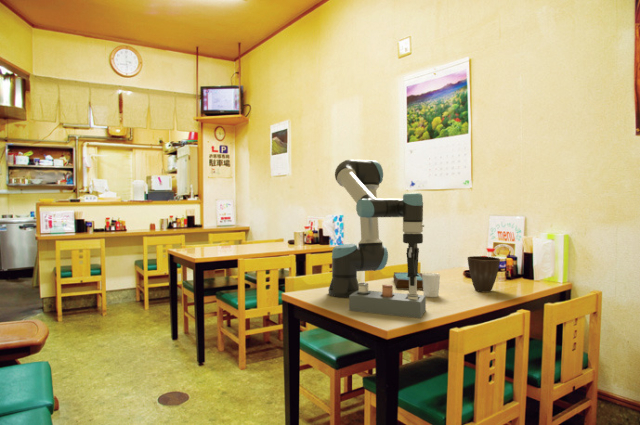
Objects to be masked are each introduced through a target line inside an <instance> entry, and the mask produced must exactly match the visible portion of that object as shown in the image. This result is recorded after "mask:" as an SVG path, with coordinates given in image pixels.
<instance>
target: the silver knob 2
mask: <svg viewBox="0 0 640 425" xmlns="http://www.w3.org/2000/svg"><path fill="white" fill-rule="evenodd" d="M406 294H407V299H415V300H418V295H419V293H417V294H409V292H408V293H406Z"/></svg>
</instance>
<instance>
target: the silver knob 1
mask: <svg viewBox="0 0 640 425" xmlns="http://www.w3.org/2000/svg"><path fill="white" fill-rule="evenodd" d="M358 283H359V294H360V295H368V291H369V283H368V282H358Z"/></svg>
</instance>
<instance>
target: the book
mask: <svg viewBox="0 0 640 425" xmlns="http://www.w3.org/2000/svg"><path fill="white" fill-rule="evenodd" d="M423 273H424V272H418V274H417V275H419V277H418V276H416V277H417V290H423V279H422V274H423ZM407 275H408V272H397V271H396V272H393V281H394V283H395V286H396V288H397V290H398V289H399V290H402V289H404V290H405V289H406V290H409V277H407Z"/></svg>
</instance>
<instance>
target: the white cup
mask: <svg viewBox="0 0 640 425" xmlns="http://www.w3.org/2000/svg"><path fill="white" fill-rule="evenodd" d="M422 273H423V274H422V279H423V289H422V290H423V291H422V292H423V293H422V294H423V295H425V296H426V298H437V297H439V294H440V292H439V291H440V283H441V282H440V278H441V275H440V273H435V272H434V273H433V272H422Z"/></svg>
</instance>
